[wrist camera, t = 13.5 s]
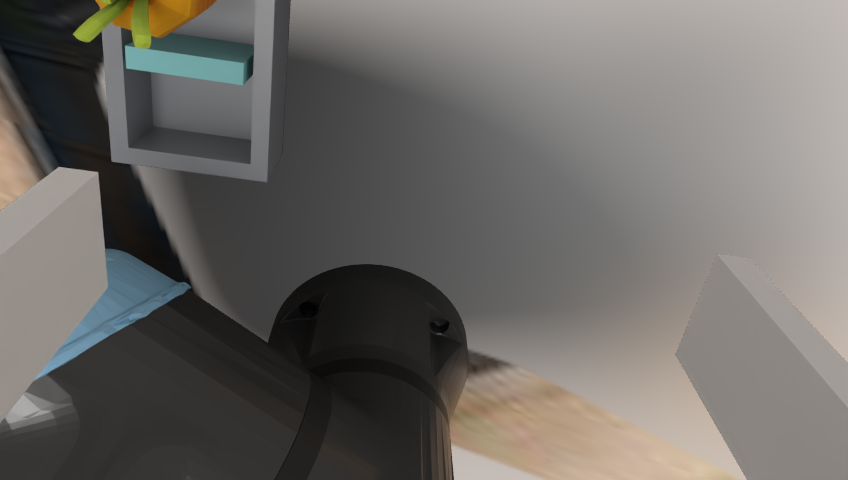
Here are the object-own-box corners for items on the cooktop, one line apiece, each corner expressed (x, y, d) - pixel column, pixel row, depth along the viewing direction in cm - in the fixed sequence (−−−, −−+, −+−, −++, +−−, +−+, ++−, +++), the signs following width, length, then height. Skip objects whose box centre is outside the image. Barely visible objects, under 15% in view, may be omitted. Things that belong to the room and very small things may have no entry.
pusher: (260, 66, 39) (243, 85, 35) (155, 51, 39) (126, 68, 35) (261, 46, 39) (243, 63, 35) (154, 30, 38) (124, 45, 34)
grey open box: (282, 153, 43) (267, 182, 38) (143, 134, 42) (111, 161, 38) (297, -141, 35) (280, -147, 31) (127, -170, 34) (85, -181, 30)
